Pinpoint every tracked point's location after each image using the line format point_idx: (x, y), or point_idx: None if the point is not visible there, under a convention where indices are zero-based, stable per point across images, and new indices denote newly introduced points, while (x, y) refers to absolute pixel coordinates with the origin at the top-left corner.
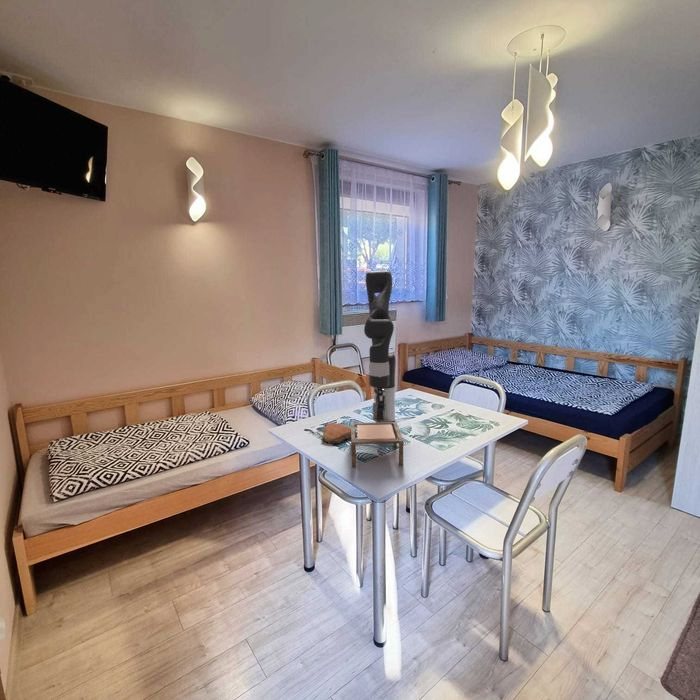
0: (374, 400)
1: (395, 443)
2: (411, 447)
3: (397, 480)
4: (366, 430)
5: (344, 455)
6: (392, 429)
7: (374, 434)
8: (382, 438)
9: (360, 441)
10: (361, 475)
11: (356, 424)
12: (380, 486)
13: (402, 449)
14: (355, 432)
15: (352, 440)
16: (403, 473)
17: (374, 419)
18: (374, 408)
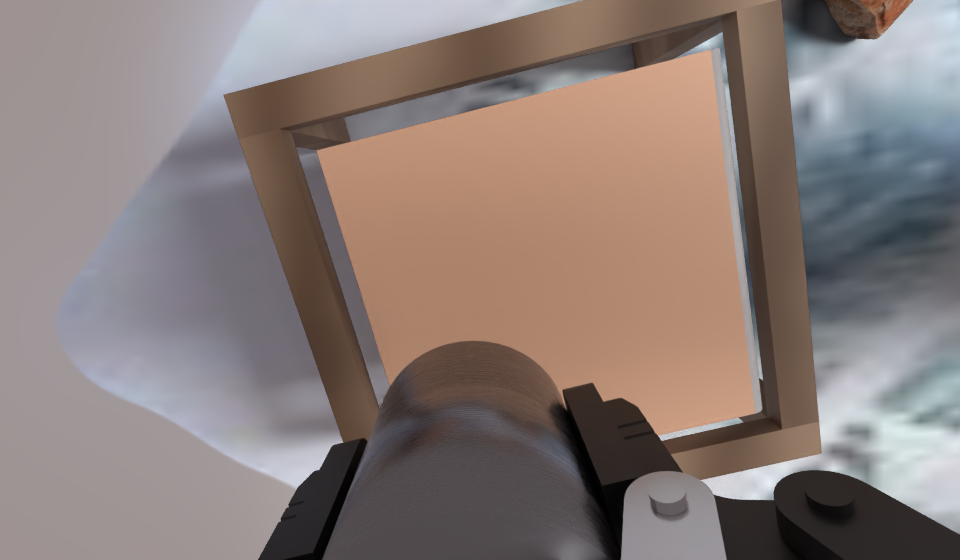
0: (806, 490)
1: None
2: None
3: (241, 413)
4: (564, 194)
5: (484, 21)
6: None
7: (470, 294)
8: (391, 381)
9: (265, 186)
10: (233, 207)
11: (738, 37)
12: (147, 336)
13: None
14: (866, 20)
15: (266, 95)
16: (327, 436)
17: (399, 378)
18: (355, 500)
